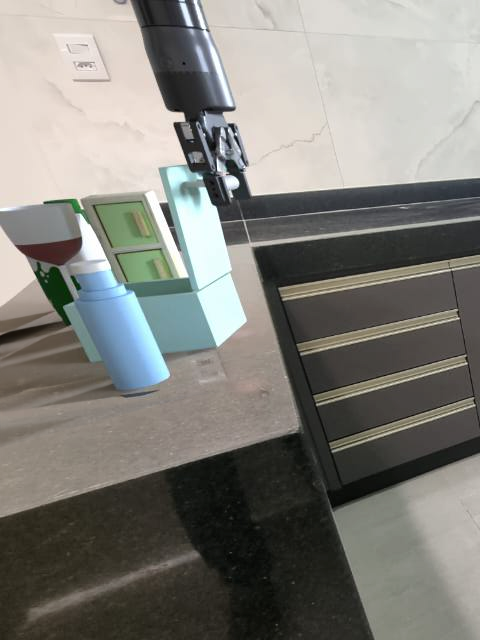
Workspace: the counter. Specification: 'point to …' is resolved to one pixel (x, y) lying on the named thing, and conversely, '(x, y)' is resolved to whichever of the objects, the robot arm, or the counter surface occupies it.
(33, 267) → the milk carton
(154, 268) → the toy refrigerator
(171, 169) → the lid
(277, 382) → the counter surface
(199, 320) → the box
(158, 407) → the counter surface
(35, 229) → the wineglass
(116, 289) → the water bottle
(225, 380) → the counter surface
